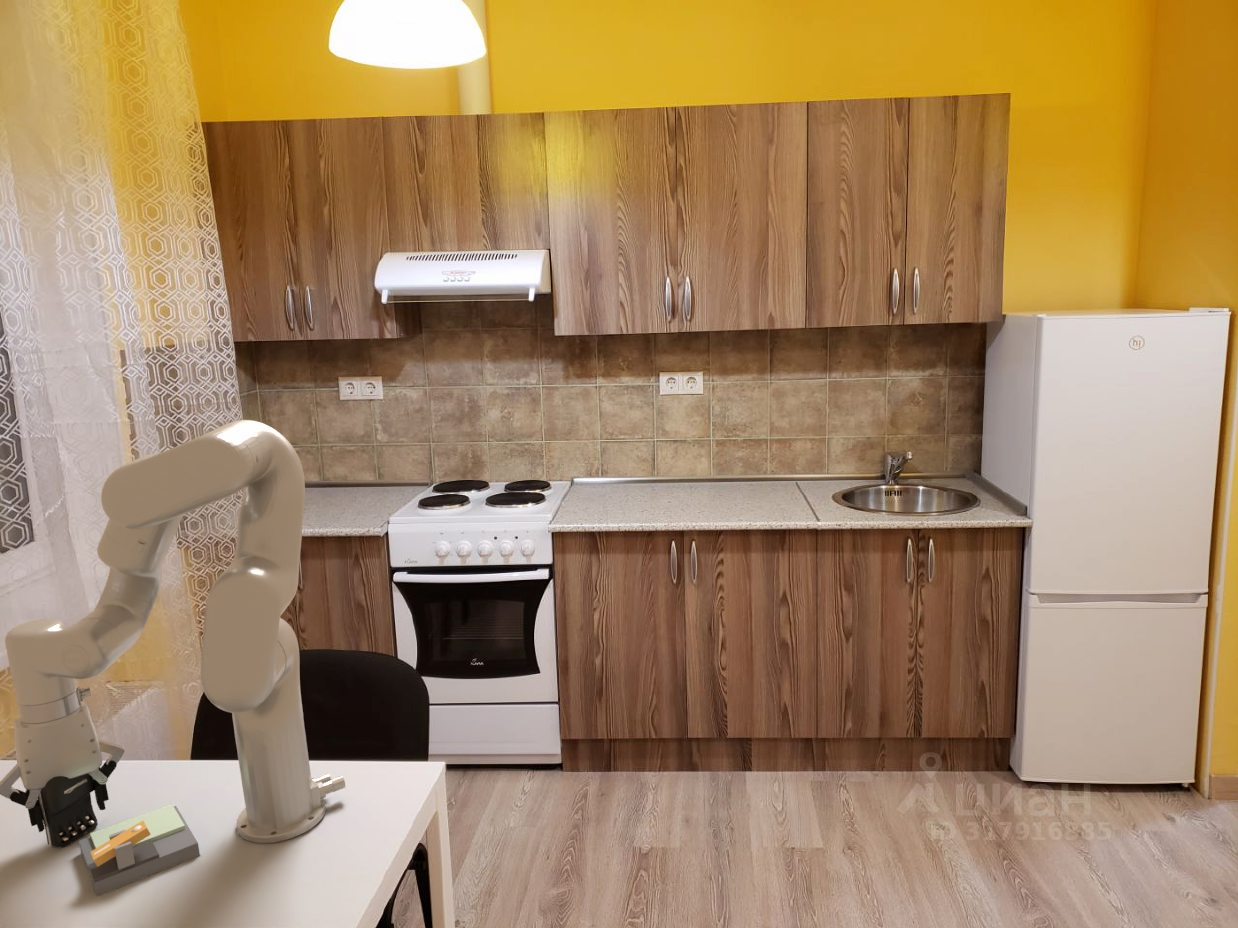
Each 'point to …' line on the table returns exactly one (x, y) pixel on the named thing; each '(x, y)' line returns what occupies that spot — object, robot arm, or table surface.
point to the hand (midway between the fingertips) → (71, 815)
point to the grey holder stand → (140, 849)
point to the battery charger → (67, 809)
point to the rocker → (119, 842)
